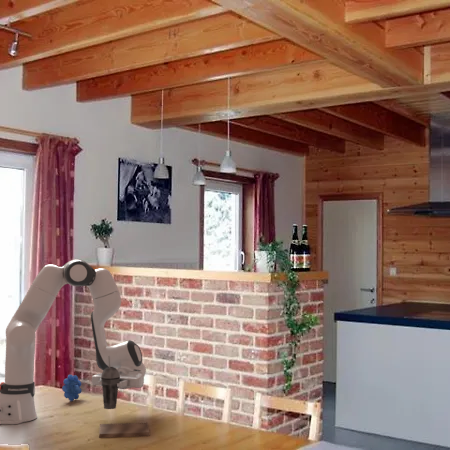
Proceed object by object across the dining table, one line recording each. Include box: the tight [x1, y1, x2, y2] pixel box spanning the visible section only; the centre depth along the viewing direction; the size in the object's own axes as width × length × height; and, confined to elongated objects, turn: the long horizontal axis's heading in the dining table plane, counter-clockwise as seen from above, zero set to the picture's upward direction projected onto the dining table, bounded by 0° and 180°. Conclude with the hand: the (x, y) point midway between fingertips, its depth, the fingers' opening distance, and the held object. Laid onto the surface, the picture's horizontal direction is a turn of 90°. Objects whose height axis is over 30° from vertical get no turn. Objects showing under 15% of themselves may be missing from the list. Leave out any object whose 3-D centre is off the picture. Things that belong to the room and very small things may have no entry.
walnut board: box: [98, 422, 150, 438], centre depth 250 cm, size 18×14×1 cm
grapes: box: [61, 374, 83, 402], centre depth 299 cm, size 12×7×12 cm, turn 150°
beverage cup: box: [101, 356, 120, 410], centre depth 259 cm, size 7×7×20 cm
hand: (109, 384), depth 258 cm, fingers closed on beverage cup, 6 cm apart
